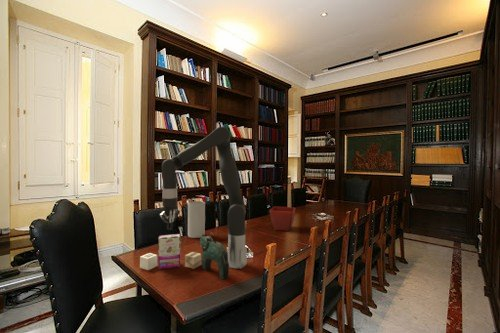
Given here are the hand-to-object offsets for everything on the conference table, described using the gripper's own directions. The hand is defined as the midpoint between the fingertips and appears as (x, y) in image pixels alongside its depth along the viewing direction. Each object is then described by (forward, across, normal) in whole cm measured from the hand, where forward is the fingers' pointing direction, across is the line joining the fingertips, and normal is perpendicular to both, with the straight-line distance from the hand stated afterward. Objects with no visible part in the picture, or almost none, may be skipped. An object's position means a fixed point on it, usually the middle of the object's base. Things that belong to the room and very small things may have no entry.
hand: (169, 229), depth 131 cm
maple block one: (+20, +7, -10) cm, 23 cm away
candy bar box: (+20, 0, 0) cm, 20 cm away
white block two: (+20, -6, +9) cm, 23 cm away
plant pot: (+20, +101, -25) cm, 106 cm away
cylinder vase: (+20, +49, +24) cm, 58 cm away
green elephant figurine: (+20, +6, -25) cm, 33 cm away
